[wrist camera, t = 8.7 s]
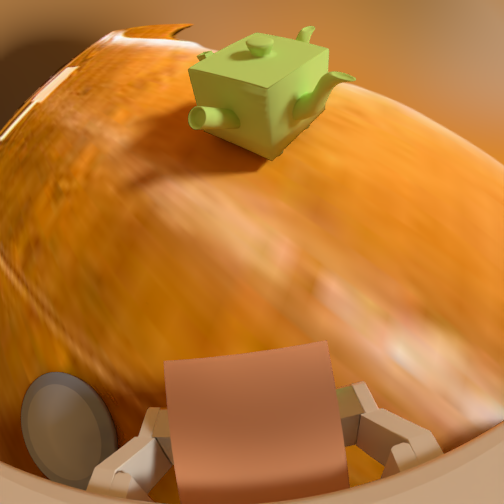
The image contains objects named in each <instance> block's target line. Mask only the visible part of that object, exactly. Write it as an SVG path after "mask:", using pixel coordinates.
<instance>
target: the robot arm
mask: <svg viewBox="0 0 504 504" xmlns="http://www.w3.org/2000/svg"><path fill="white" fill-rule="evenodd" d="M336 394H337V400H338V406H339V412H340V419H341V425H342V432H343V439H344V446H345V447H346V446H351V445H355V444H356V446H358V447H359V448H360V449H362V450H363V451H364V452H366V453H367V454H368V455H370V456H371V457H373V458H374V459H375V460H377V461H378V462H379V463H381V464H382V465H384V466H385V468H384V471H383V474H382V476H381V479H379V480H376V481H373V482H369V483H366V484H362V485H359V486H355V487H351V488H348V489H344V490H339V491H335V492H331V493H326V494H321V495H316V496H311V497H305V498H299V499H293V500H286V501H278V502H269V503H259V504H504V421H502V422H501V423H499V424H498V425H496V426H495V427H493V428H491V429H490V430H488V431H486V432H485V433H483V434H481V435H479V436H478V437H476V438H474V439H472V440H470V441H469V442H467V443H465V444H463V445H461V446H459V447H457V448H455V449H453V450H451V451H449V452H447V453H445V454H444V453H443V451H442V450H441V448H440V446H439V444H438V443H437V441H436V439H435V438H434V436H433V434H432V433H431V431H429V430H427V429H425V428H422V427H420V426H418V425H416V424H414V423H412V422H410V421H408V420H405V419H403V418H401V417H399V416H397V415H395V414H393V413H391V412H389V411H387V410H385V409H383V408H382V409H379V408H378V406H377V404H376V402H375V401H374V399H373V397H372V395H371V393H370V391H369V389H368V387H367V385H366V383H365V382H364V381H361V382H358V383H354V384H351V385H346V386H341V387H337V388H336ZM172 465H174V460H173V453H172V445H171V437H170V429H169V420H168V410H167V407H149V408H148V409H147V411H146V414H145V417H144V420H143V423H142V426H141V429H140V432H139V436H138V437H134V438H132V439H131V440H130V441H129V442H127V443H126V444H125V445H124V446H122V447H121V448H120V449H118V450H117V451H116V452H115V453H113V454H112V455H111V456H109V457H108V458H107V459H105V460H104V461H103V462H101V463H100V464H99V465H97V466H96V467H95V468H94V471H93V474H92V476H91V479H90V481H89V484H88V487H87V489H86V490H82V489H78V488H74V487H70V486H67V485H64V484H60V483H57V482H54V481H51V480H48V479H45V478H42V477H39V476H36V475H33V474H31V473H28V472H26V471H23V470H21V469H18V468H16V467H13V466H11V465H9V464H6V463H4V462H2V461H0V504H164V503H155V502H154V501H153V500H152V499H151V498H150V497H149V496H148V495H147V494H148V493H149V492H150V490H151V489H152V488H153V487H154V486H155V485H156V484H157V483H158V481H159V480H160V479H161V478H162V477H163V476H164V475H165V474H166V472H167V471H168V470H169V469H170V468H171V467H172Z"/></svg>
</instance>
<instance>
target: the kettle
mask: <svg viewBox="0 0 504 504" xmlns="http://www.w3.org/2000/svg"><path fill="white" fill-rule="evenodd" d="M314 30H315V27H313V26H308V27H305V28H303V29H302V30H301V31H300V32H299V34H298V36H297V38H296V40H293V39H288V38H283V37H278V36H273V35H268V34H262V33H254V34H252V35H250V36H248V37H246V38H243V39H242V40H239V41H237V42H235V43H233V44H231V45H229V46H227V47H225V48H224V49H222V50H220V51H218V52H216V53H212V51H207V52H203V53H201V54H200V55H198V56H197V58H198V59H199V61H200V62H198V63H197V64H195V65H193V66H192V67H190V68H189V69H188V72H189V76H190V80H191V84H192V88H193V92H194V96H195V99H196V103H197V106H196V107H193V108H192V109H191V110H190V112H189V115H188V123H189V126H190V127H191V128H192V129H194V130H204V132H207V133H209V134H212V135H214V136H216V137H219V138H221V139H224V140H226V141H228V142H231V143H233V144H235V145H237V146H240V147H242V148H244V149H247V150H249V151H251V152H253V153H255V154H258V155H260V156H262V157H264V158H266V159H268V160H271V161H273V160H274V159H275V158H276V157H277V156H280V155H281V154H282V153H283V150H284V149H285V148H286V147H287V146H288V145H289V144H290V143H291V142H292V141H293V140H294V139H295V138H296V137H297V136H298V135H299V134H300V133H301V132H302V131H303V130H305V129H307V128H309V126H310V124H311V123H312V122H313V121H314V120H315V119H316V118H317V117H318V116H319V115H320V114H321V113H322V112H323V111H324V110H325V103H326V101H327V99H328V97H329V95H330V92H331V91H332V89H333V88H334V87H335V86H336V85H337V84H339V83H342V82H351V81H355V80H356V78H355V77H353V76H351V75H348V74H345V73H341V72H329V73H328V61H329V49H328V48H324V47H321V46H317V45H313V44H309V41H310V37H311V34H312V33H313V31H314Z"/></svg>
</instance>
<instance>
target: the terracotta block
mask: <svg viewBox="0 0 504 504" xmlns="http://www.w3.org/2000/svg"><path fill="white" fill-rule="evenodd" d="M164 374H165V387H166V399H167V410H168V420H169V429H170V437H171V445H172V453H173V460H174V467H175V473H176V480H177V486H178V492H179V497H180V502H181V504H259V503H269V502H278V501H286V500H293V499H299V498H305V497H311V496H316V495H321V494H326V493H331V492H335V491H339V490H344V489H348V488H350V485H349V477H348V469H347V461H346V453H345V446H344V439H343V432H342V425H341V419H340V412H339V406H338V400H337V394H336V388H335V382H334V377H333V371H332V366H331V360H330V355H329V350H328V345H327V340H325V341H320V342H315V343H309V344H304V345H298V346H292V347H286V348H280V349H273V350H267V351H260V352H252V353H245V354H237V355H228V356H219V357H209V358H199V359H187V360H174V361H164Z"/></svg>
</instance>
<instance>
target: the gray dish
mask: <svg viewBox="0 0 504 504" xmlns="http://www.w3.org/2000/svg"><path fill="white" fill-rule="evenodd" d="M21 426H22V432H23V437H24V440H25V444H26V446H27V449H28V451H29V453H30V455H31V457H32V459H33V461H34V462H35V464H36V465H37V466H38V468H39V469H40V470H41V471H42V472H43V474H44V475H45V476H46V477H48V478H49V479H50V480H51V481H54V482H57V483H60V484H64V485H67V486H70V487H74V488H78V489H82V490H86V489H87V487H88V484H89V481H90V479H91V476H92V474H93V471H94V468H95V467H96V466H97V465H99V464H100V463H101V462H103V461H104V460H105V459H107V458H108V457H109V456H111V455H112V454H113V453H115V452H116V451H117V450H118V439H117V433H116V429H115V425H114V422H113V419H112V417H111V414H110V412H109V410H108V408H107V406H106V405H105V403H104V401H103V400H102V399H101V397H100V396H99V395H98V393H97V392H96V391H95V390H94V389H93V388H92V387H91V386H90V385H89V384H87V383H86V382H85V381H83V380H82V379H80V378H78V377H76V376H73V375H70V374H66V373H61V372H51V373H47V374H44V375H42V376H40V377H39V378H37V379H36V380H35V381H34V382H33V383H32V384H31V386H30V387H29V389H28V390H27V392H26V395H25V397H24V400H23V404H22V410H21Z"/></svg>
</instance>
